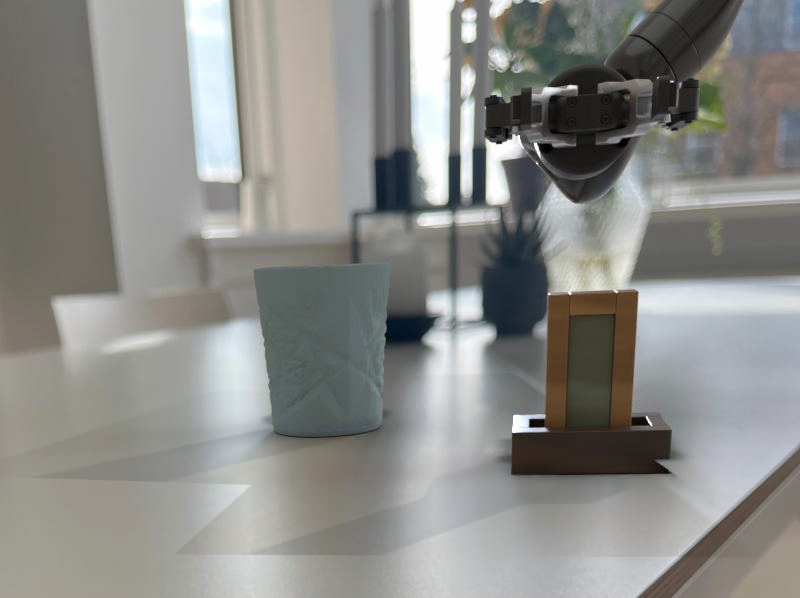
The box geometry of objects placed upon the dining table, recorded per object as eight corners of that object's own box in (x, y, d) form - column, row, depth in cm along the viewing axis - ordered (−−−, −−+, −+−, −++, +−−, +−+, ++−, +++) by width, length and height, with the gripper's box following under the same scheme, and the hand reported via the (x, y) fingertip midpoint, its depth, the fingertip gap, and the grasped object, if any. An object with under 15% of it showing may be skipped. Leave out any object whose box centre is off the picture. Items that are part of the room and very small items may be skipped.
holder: (513, 453, 67) (513, 414, 66) (656, 451, 66) (659, 412, 65) (511, 474, 61) (511, 432, 61) (669, 473, 60) (672, 429, 59)
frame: (543, 459, 65) (548, 292, 62) (625, 458, 64) (635, 289, 61) (543, 466, 63) (548, 295, 59) (628, 466, 62) (638, 291, 58)
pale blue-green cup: (243, 437, 78) (230, 269, 74) (293, 415, 87) (284, 264, 83) (371, 439, 75) (365, 263, 70) (409, 416, 83) (406, 258, 79)
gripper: (674, 171, 81) (706, 156, 66) (489, 184, 83) (481, 172, 69) (680, 63, 78) (716, 21, 63) (490, 80, 81) (481, 43, 66)
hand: (593, 99), depth 66 cm, fingers open, 8 cm apart
